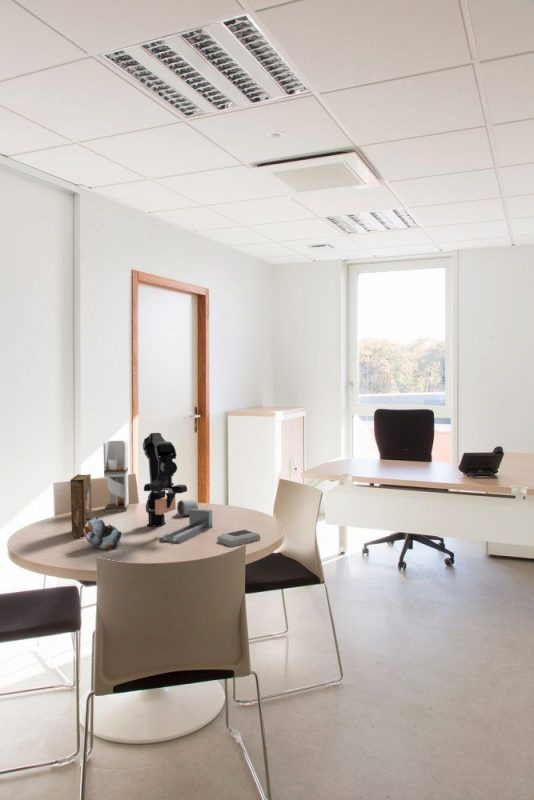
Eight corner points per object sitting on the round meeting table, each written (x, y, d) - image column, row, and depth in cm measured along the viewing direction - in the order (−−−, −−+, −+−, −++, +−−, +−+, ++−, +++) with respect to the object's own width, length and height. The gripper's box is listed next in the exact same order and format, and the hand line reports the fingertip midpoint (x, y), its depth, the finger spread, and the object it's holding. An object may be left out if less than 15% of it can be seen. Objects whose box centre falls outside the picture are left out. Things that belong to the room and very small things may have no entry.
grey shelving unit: (108, 507, 330) (106, 440, 329) (128, 506, 331) (127, 440, 330) (104, 512, 319) (103, 443, 318) (126, 511, 320) (124, 442, 319)
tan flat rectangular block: (155, 514, 266) (155, 500, 266) (170, 508, 277) (170, 495, 277) (160, 514, 265) (159, 500, 265) (175, 509, 276) (175, 495, 276)
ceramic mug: (199, 515, 310) (198, 499, 310) (184, 517, 305) (184, 501, 304) (187, 511, 318) (187, 496, 318) (173, 514, 313) (173, 498, 313)
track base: (159, 541, 261) (158, 522, 261) (192, 525, 287) (192, 508, 287) (180, 543, 257) (179, 524, 257) (212, 527, 283) (212, 510, 283)
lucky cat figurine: (117, 550, 247) (100, 522, 243) (91, 562, 249) (73, 534, 245) (125, 530, 262) (109, 503, 257) (100, 541, 263) (83, 514, 259)
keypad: (217, 534, 259) (246, 528, 269) (217, 543, 259) (246, 536, 269) (231, 538, 252) (260, 532, 261) (231, 547, 252) (260, 541, 261)
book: (84, 538, 268) (83, 479, 267) (71, 538, 267) (69, 480, 266) (91, 528, 284) (90, 473, 283) (79, 529, 284) (78, 474, 283)
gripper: (135, 473, 267) (136, 510, 267) (173, 475, 259) (174, 513, 260) (150, 469, 277) (151, 505, 278) (187, 471, 269) (188, 508, 270)
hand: (165, 507), depth 271 cm, fingers closed on tan flat rectangular block, 2 cm apart
